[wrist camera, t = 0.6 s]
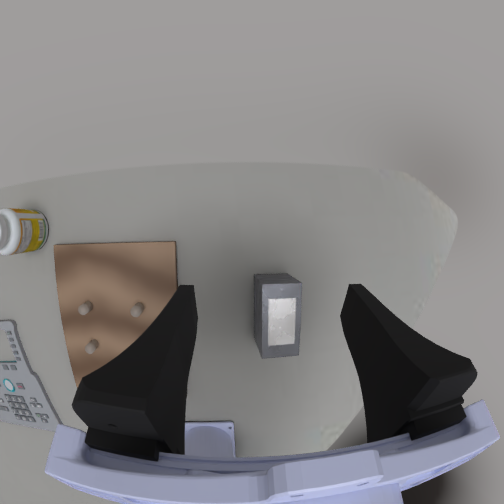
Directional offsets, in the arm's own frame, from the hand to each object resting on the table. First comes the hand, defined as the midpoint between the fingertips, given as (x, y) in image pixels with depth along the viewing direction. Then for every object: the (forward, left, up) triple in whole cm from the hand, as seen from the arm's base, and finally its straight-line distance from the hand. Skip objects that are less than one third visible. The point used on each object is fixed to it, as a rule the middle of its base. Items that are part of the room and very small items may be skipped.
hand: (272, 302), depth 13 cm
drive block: (-6, -4, -21) cm, 22 cm away
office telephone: (-20, +42, -21) cm, 51 cm away
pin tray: (-8, +15, -21) cm, 27 cm away
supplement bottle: (+4, +27, -21) cm, 34 cm away
